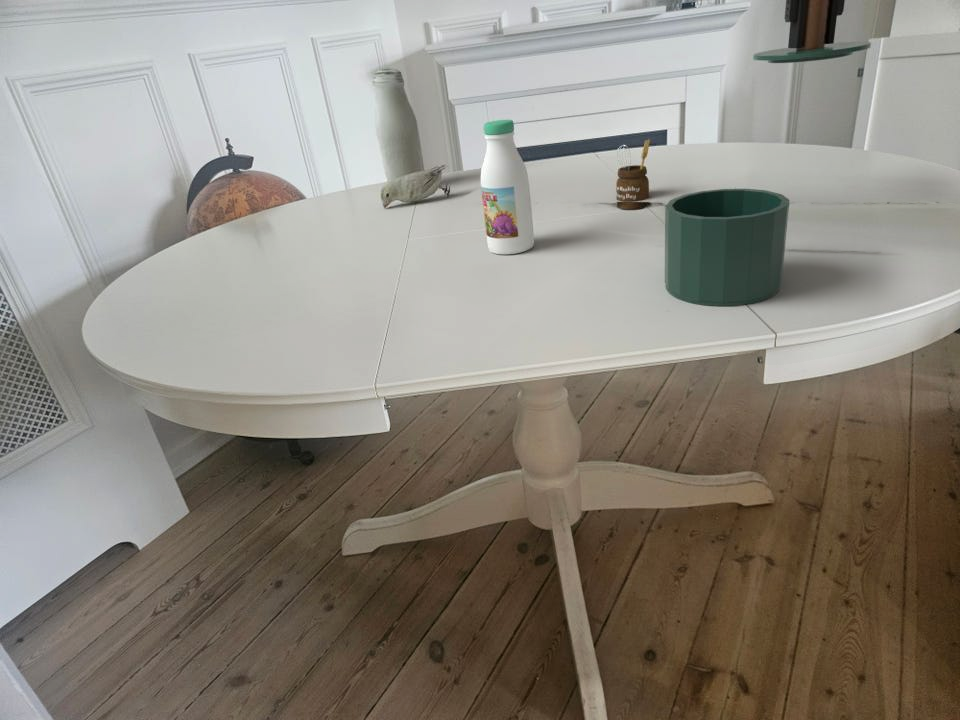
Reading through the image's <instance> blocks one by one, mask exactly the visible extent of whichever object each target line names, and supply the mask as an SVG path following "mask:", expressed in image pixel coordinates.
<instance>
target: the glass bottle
mask: <svg viewBox="0 0 960 720" xmlns="http://www.w3.org/2000/svg"><path fill="white" fill-rule="evenodd" d="M372 88H373V92H374V95H375V117H374V119H375V121H374V125H375V132H376V137H377V142H378V146H379V150H380V154H381V160H382V165H383V170H384V174H385V178H386V181H388V180H391V179H394V178H400V177H402V176H405V175H408V174H411V173H415V172H420V171H425V166H424V165H425V164H424V157H423V151H422V145H421V137H420V131H419V125H418V121H417V120H418V119H417V117H416V114H415V112H414V108H413V107H412V106H411V103H410V100H409V97H408V95H407V92H406V91H405V80H404V78H403V74H402V71H400V70H398V69H396V68H390V67H388V68H383V69H378V70H377V71H376V72H375V73H374V74H373V76H372Z"/></svg>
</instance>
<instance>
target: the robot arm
mask: <svg viewBox="0 0 960 720" xmlns="http://www.w3.org/2000/svg"><path fill="white" fill-rule="evenodd" d="M845 2H846V0H830V3H829V12H828V21H827V30H826V39H825V44H833V43H835V37H836V36H835V35H836V28H837V19H838V17H839V16H842V15H843V13H844V11H845ZM806 4H807V0H785V9H784V22H785V23H789V32H788V33H789V34H788V43H787V48H802V44H803V34H804V24H805V14H806Z"/></svg>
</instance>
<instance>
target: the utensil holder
mask: <svg viewBox="0 0 960 720" xmlns="http://www.w3.org/2000/svg"><path fill="white" fill-rule="evenodd" d="M650 143H651V139H650V138H648V139H647V140H644V144H643V149H642V153H641V157H640V158H641V159H642V160H641V164H639V165H638V164H637V165H636V164H635V165H634V164H633V165H631V162H632V161H629V165H626V164H628V160H624V158H622V160H623V161H625V162H626V163H623V161H622V160H621V159H618V160H617V161H618V163H619V165H620V167H619V168H618V169H617V177H618V178H617V180H616V183H615V196H616V198H615V199H616V207H617V208H618V209H620V210H623V211H624V210H625V211H628V210H629V211H631V210H633V211H634V210H640V209H643V208H646V207H648V206H649V201H644V200H647V199H649V197H650V180H649V178H648V176H647V174H648V169H647V167H646V166H645V165H644V164H645V159H646V158H647V156H648V154H649V147H650ZM622 147H623V148H622ZM625 149H626V152H631V150H630V149H627V145H626V144H622V145H620V150H623V151H624V153H625ZM616 152H619V149H617V151H616ZM624 153H621V154H622V156H625V158H627V157H631V153H626V154H627V157H626V155H623V154H624ZM621 154H620V153H616V156H617V157H619V158H621V157H622V156H621Z"/></svg>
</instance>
